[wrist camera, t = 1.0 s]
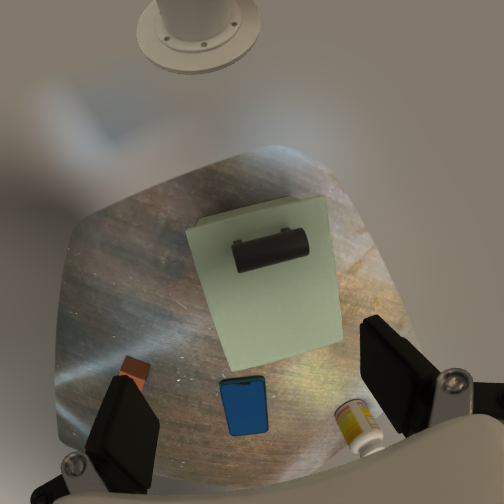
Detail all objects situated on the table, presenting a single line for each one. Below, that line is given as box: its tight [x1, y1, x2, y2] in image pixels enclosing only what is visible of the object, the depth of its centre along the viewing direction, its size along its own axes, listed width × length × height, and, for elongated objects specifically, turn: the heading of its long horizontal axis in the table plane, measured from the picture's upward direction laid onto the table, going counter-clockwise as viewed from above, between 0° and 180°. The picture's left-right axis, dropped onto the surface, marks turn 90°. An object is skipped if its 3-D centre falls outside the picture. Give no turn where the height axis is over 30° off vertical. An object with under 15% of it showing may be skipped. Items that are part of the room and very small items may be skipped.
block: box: [119, 356, 150, 392], centre depth 38 cm, size 4×4×4 cm
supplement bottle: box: [335, 400, 385, 458], centre depth 41 cm, size 7×7×13 cm
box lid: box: [185, 196, 343, 372], centre depth 22 cm, size 15×12×6 cm
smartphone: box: [220, 377, 269, 436], centre depth 43 cm, size 7×1×15 cm
